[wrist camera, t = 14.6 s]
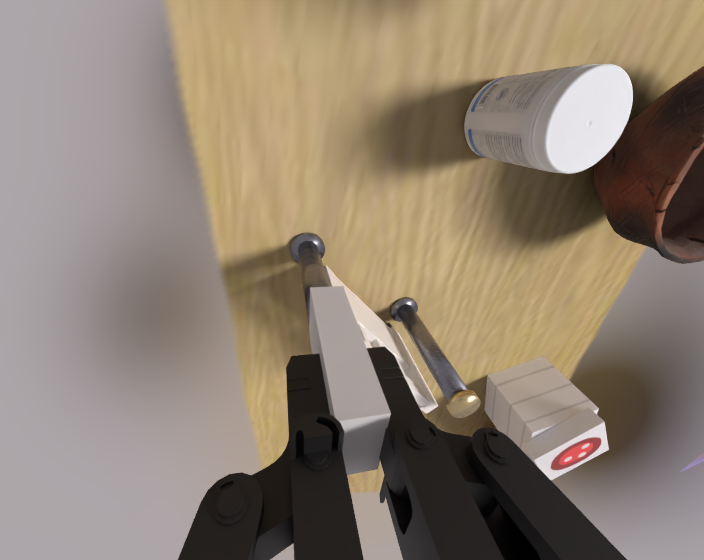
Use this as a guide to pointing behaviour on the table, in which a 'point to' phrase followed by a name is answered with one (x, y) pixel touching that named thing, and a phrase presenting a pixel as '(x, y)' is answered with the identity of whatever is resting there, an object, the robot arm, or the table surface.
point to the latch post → (436, 360)
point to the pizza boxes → (545, 416)
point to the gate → (387, 344)
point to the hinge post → (310, 262)
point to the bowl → (660, 175)
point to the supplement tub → (551, 117)
